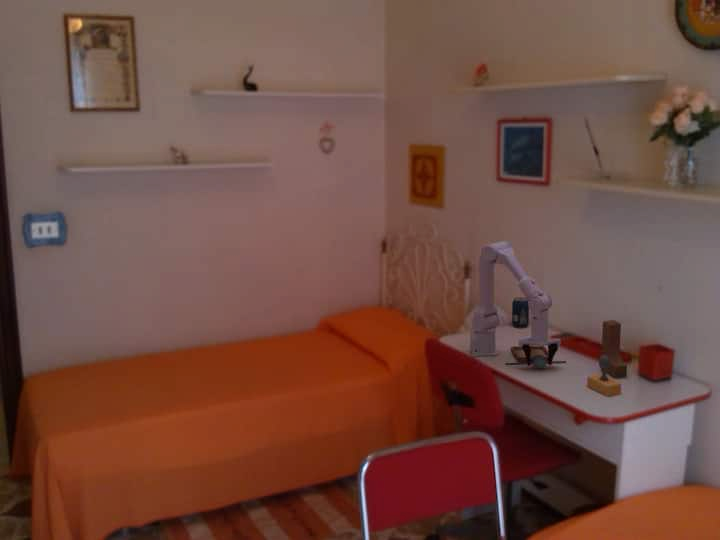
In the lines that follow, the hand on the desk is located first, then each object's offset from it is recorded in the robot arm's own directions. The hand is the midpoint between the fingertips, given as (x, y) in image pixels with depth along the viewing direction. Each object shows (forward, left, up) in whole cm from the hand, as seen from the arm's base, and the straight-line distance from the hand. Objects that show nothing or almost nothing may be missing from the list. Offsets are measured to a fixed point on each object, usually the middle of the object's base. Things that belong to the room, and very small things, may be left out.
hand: (539, 364), depth 253 cm
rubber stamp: (+16, -21, -2) cm, 27 cm away
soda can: (+4, +51, -2) cm, 51 cm away
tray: (0, +13, -1) cm, 13 cm away
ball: (0, 0, +1) cm, 1 cm away
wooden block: (+24, -7, -2) cm, 25 cm away
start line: (0, +5, -1) cm, 5 cm away
